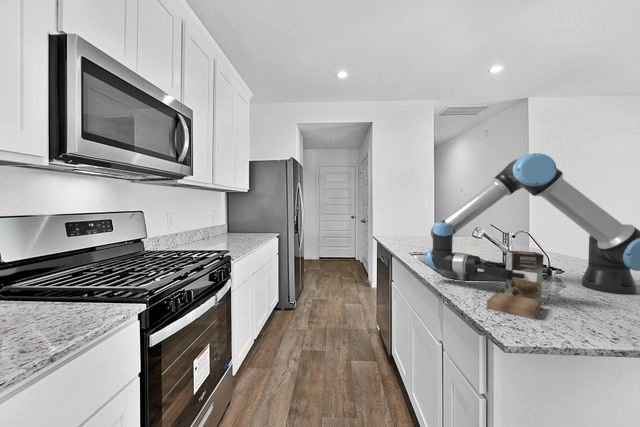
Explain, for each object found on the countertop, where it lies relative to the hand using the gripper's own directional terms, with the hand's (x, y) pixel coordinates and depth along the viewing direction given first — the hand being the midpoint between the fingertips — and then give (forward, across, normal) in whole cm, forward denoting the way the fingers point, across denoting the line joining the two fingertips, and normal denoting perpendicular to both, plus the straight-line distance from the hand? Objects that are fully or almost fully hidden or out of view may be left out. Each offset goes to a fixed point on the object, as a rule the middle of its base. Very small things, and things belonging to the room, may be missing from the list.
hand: (539, 275), depth 97 cm
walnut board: (-4, +13, -9) cm, 16 cm away
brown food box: (-4, 0, -9) cm, 10 cm away
